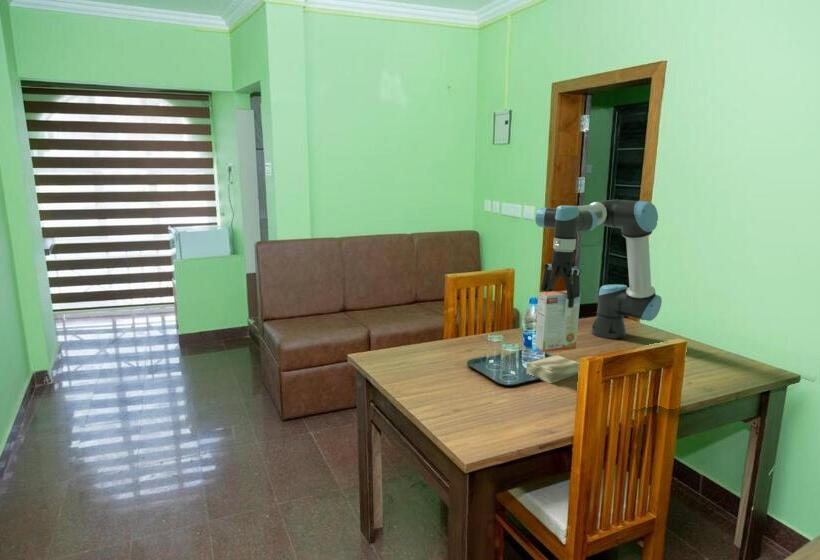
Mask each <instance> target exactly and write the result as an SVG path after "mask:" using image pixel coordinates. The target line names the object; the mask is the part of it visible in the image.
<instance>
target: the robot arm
mask: <svg viewBox="0 0 820 560" xmlns="http://www.w3.org/2000/svg"><path fill="white" fill-rule="evenodd" d="M534 218H535V219H534V221H535V224H536V225H537V226H538V227H539V228H544V229H554V233H553V245H552V248H553V250H552V253H551V254H552V255H551V260H552V261H551V263H545V264H544V273H543V279H542V283H541V292H552V291H553V290H554V288H555V286H556V284H557V281H558V279H559V278H560V277H562V280H563V281H564V286H565V291H567V295H568V298H566V303H565V314H564V316H565V317H568V316H571V308H572V307H573V306H574V299H575V298H578V297H580V298H581V295H580V294H581V292H580V291H581V290H580V274H581V272H582V270H581V269H579V268H578V269H577V268H575V267H574V262H575V255H576V253H575V250H576V244H577V242H576V241H577V234H578V233H582V232H583V233H588V232H590V231H593V230H594V229H595V228H596V227H597V226H604V227H609V228H616V229H621V236H622V237H624V238H625V244H626V256H627V257H626V258H627V268H628V269H627V270H628V285H629V287H628V286H627V285H626V284H616V283H615V284H604V285H602V286H600V287H599V293H598V299H597V301H598V302H597V308H596V309H597V310H596V311H597V312H596V317H595V319H594V321H593V324H592V326H591V331H590V333H591V334H592V335H594V336H597V337H599V338H604V339H609V340H610V339H613V340H618V339H617V338H621V339H624V337H625V338H626V337H627V328H626V324H625V320H624V317H629V318H634V319H639V320H641V321H648V322H650V321H653V320H655V319H656V318H657V316H658V314H659V313H660V311H661V307H662V303H663V302H662V300H663V299H662V297H661V296H660V295H659V294H656V289H655V287H654V286H652V278H651V277H652V276H651V258H650V241H649V239H650V237H649V236H650V235H652V234H653V232H654V230H655V229H656V228H657V225H658V221H659V215H658V210H657V208H656V205H654V204H653V203H652V202H650V201H644V200H631V199H629V200H627V199H609V200H607V199H606V200H601V201H594V202H592V203H589V204H585V205H558V206H557V207H547V206H546V207H540V208H539V209H537V211H536V213H535V217H534Z"/></svg>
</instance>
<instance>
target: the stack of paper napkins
mask: <svg viewBox="0 0 820 560" xmlns="http://www.w3.org/2000/svg"><path fill="white" fill-rule="evenodd" d="M579 363H580V362H578V361H576V360H572V359H569V358H566V357H563V356H560V355H558V354H554V355H551V356H547V357H544V358H540V359H536V360H534V361H530V362H528V363H527V362H526V368H525V369H526V371H525V373H526V375H528V374H529V375H528V376H530V375H532V376H531V377H533V376H535V377H538V378H540V379H539V380H540V381H544V382H546V383H548V384H553V383H556V382H559V381H562V380H564V379H568V378H571V377H573V376H576V375H578V374H577V373H578V365H579ZM535 377H534V378H535ZM538 378H537V379H538Z"/></svg>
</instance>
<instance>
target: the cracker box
mask: <svg viewBox="0 0 820 560" xmlns="http://www.w3.org/2000/svg"><path fill="white" fill-rule="evenodd" d="M581 296H582V295H581V293H580V297H578V298H575V299H574V306H573V307H572V308H571V316H568V317H565V316H564V314H565V303H566V298H568V295H567V290H558V291H557V290H556V291H555V290H554V291H552V292H545V291H540V292H538V300H537V312H536V313H537V314H536V328H535V329H536V330H535V341H534V347H535V348H536V349H538V350H539V351H541V352H542V353H546V352H556V351H566V350H567V351H568V350H575V349H576V347H577V340H578V339H577V338H578V337H577V336H578V329H579V328H578V326H579V317H580V315H579V314H580V304H581Z"/></svg>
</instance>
